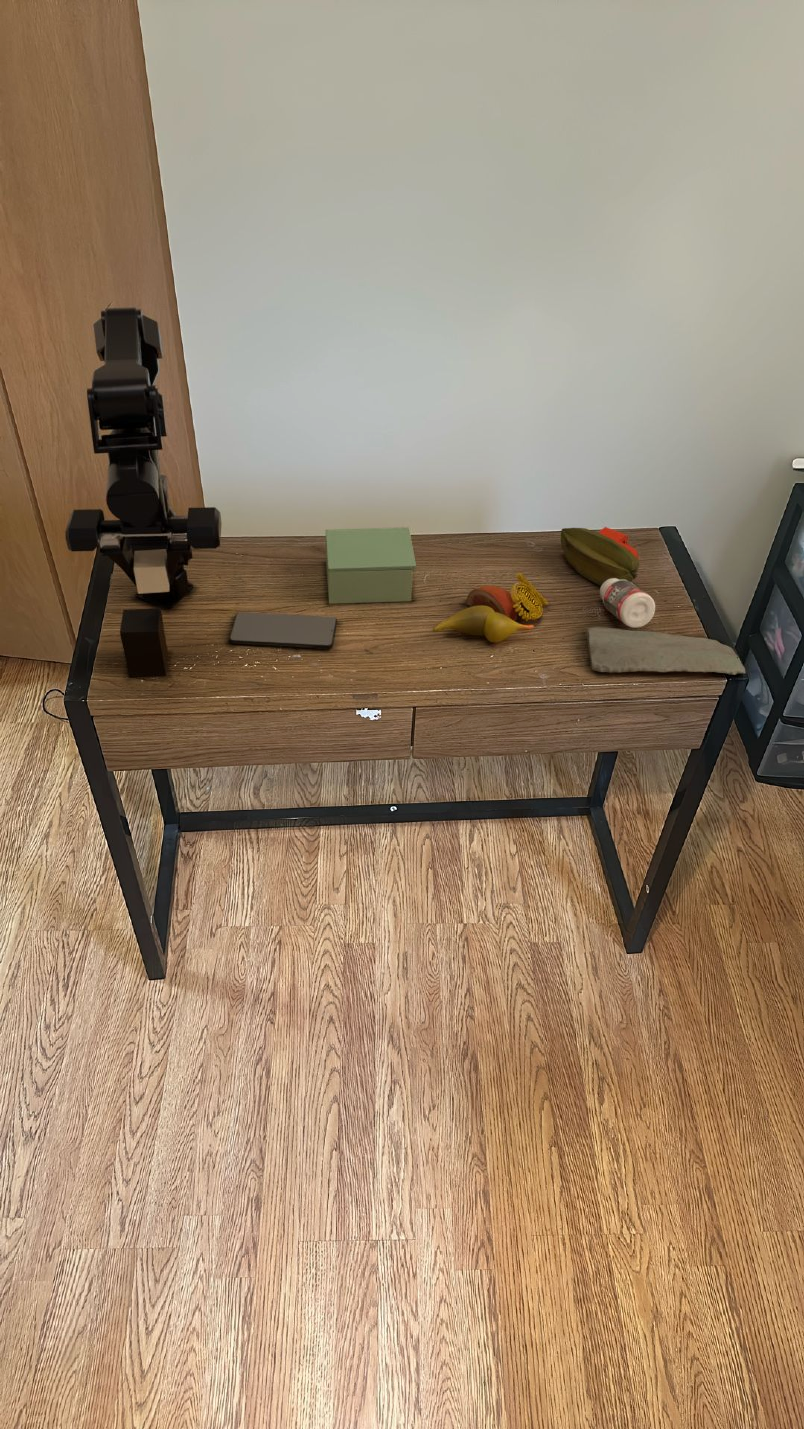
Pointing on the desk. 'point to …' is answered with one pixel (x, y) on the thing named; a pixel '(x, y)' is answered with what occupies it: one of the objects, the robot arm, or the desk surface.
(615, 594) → the pill bottle
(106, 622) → the desk surface
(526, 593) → the logo
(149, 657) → the stand
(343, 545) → the cover
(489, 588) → the fruit slice
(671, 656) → the stone slab
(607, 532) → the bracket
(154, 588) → the block
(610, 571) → the fruit
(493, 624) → the yellow tapered piece
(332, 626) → the smartphone
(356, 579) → the case
